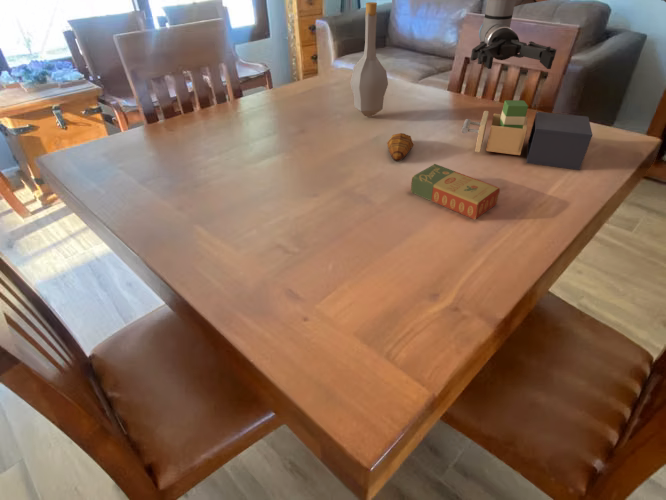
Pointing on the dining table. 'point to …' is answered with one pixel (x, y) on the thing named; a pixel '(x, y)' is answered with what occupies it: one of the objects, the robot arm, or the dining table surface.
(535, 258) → the dining table surface
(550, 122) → the cabinet
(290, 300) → the dining table surface
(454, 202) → the carton
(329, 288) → the dining table surface
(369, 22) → the bottle
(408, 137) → the croissant
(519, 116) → the block
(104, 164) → the dining table surface
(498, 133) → the drawer
